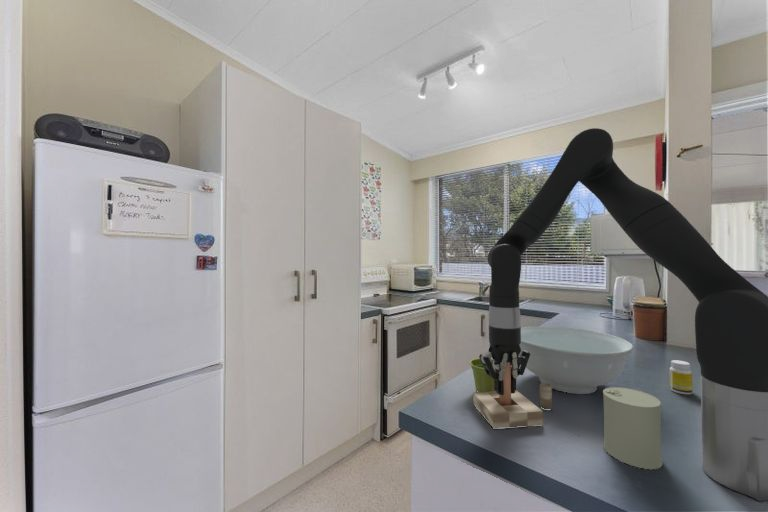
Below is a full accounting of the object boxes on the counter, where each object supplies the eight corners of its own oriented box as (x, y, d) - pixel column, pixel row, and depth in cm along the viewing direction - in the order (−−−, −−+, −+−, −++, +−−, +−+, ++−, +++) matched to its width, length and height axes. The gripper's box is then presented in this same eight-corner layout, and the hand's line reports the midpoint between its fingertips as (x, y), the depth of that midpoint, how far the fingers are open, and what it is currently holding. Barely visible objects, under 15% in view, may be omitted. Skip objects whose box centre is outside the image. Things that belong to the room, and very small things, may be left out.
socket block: (543, 426, 74) (542, 411, 74) (493, 430, 72) (493, 414, 72) (516, 402, 85) (515, 389, 85) (473, 405, 84) (473, 392, 84)
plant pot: (472, 384, 98) (471, 356, 98) (504, 389, 94) (504, 360, 94) (468, 397, 89) (467, 366, 89) (503, 402, 86) (503, 370, 86)
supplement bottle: (697, 395, 88) (696, 365, 88) (677, 394, 89) (676, 364, 89) (684, 388, 93) (683, 359, 93) (665, 387, 94) (665, 359, 94)
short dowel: (554, 410, 81) (554, 387, 81) (544, 411, 81) (543, 387, 81) (547, 405, 84) (547, 382, 84) (537, 406, 83) (537, 383, 83)
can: (605, 435, 69) (604, 381, 69) (661, 451, 63) (660, 392, 63) (601, 456, 62) (600, 395, 62) (663, 477, 56) (662, 409, 56)
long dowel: (513, 411, 78) (512, 362, 78) (502, 411, 78) (501, 363, 78) (507, 405, 81) (507, 358, 81) (497, 406, 80) (496, 359, 80)
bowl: (617, 373, 105) (616, 329, 105) (651, 419, 76) (650, 358, 76) (513, 361, 119) (512, 322, 119) (508, 396, 90) (507, 344, 90)
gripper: (488, 329, 74) (490, 403, 74) (538, 324, 77) (539, 395, 77) (471, 322, 81) (472, 390, 81) (517, 319, 85) (518, 383, 85)
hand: (505, 392), depth 79 cm, fingers closed on long dowel, 2 cm apart
